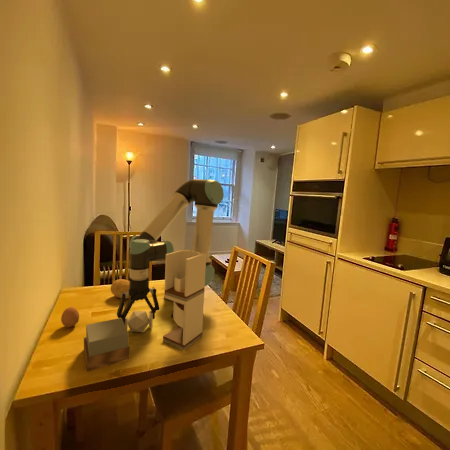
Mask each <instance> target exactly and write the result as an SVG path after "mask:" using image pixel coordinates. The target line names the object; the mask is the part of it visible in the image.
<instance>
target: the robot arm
mask: <svg viewBox="0 0 450 450" xmlns="http://www.w3.org/2000/svg"><path fill="white" fill-rule="evenodd" d="M223 200H224V189H223V186H222V184H221V183H220V182H219V181H218V180H216V179H215V180H213V179H200V178H199V179H196V178H195V179H194V178H193V179H189V180H188V181H186V182H184V183H183V184H181V186H179V187H178V188H177V189H176V191H174V193H172V198H171V199H170V200H169V201H168V203H166V205H164V207H163V208H162V209H161V210H160V211H159V213H158V214H157V215H156V216H155V217H154V218H153V220H151V221H150V222H149V223H148V225H147V226H146V227H145V229H144V230H142V232H141V233H140V234H139V235H134V236H132V237H131V238H130V239H129V241H128V248H129V281H130V282H129V291H128V292H121V298H120V300H119V305H118V308H117V311H116V316H117V319H118V318H122V320H123V322H124V324H125V327H126V329H127V330H128V327H129V326H128V319H129V318H128V314H129V313H130V310H131V308H132V306H133V304H134V303H135V302H136V301H137V302H139V301H143V300H144V301H145V302H146V304H147V305H148V307H149V309H150V310H149V311H148V318H149V320H150V322H149V324H148V326H149V328H150V329H152V328H153V323H154V321H153V320H155V319H156V315H155V314H156V313H157V311H159V310H160V304H159V301H158V297H157V289H156V287H154V286H153V287H151V288H150V286H149V285H150V278H149V277H150V262H154V261H155V262H156V261H159V260H166V254H169V253H173V252H175V251H174V249H175V247H174V245H173V243H172V242H171V241H168V240H162V241H159V240H158V239H159V238H160V237H161V236H162V234H163V233H164V232H165V231H166V230H167V228H168V227H169V226H170V225H171V223H172V222H173V221H174V220H175V219H176V218H177V216H178V215H179V214H180V213H181V212H182V211H183V210H184V208H185V207H188V206H189V205H190V204H191V203H194V206H195V208H196V214H195V215H196V216H195V224H194V233H193V234H194V235H193V243H192V250H191V251H196V252H200V253H205V254H206V270H205V287H208V285H210V284H211V282H212V281H213V279H214V277H215V273H216V272H215V267H214V266H213V265H212V259H211V258H210V257H209V255H210V248H211V239H212V231H213V230H212V229H213V223H214V213H215V211H216V210H217V209H218V205H219V204H221V203H222V202H223ZM149 294H151V297H152V300H153V304H154V306H153V304H152V302H151V301H150V299H149V298H148V295H149ZM128 295H130V296H131V297H130V298H128V302H127V304H126V305H125V303H126V300H127V299H126V298H127V296H128ZM166 300H167V301H170V302H173V303H174V301H172V300H169V299H166Z"/></svg>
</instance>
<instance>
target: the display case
mask: <svg viewBox="0 0 450 450" xmlns="http://www.w3.org/2000/svg"><path fill="white" fill-rule="evenodd" d="M164 265H165V267H164V270H165V272H164V296H163V297H164V299H165V300H167V299H169V300H172V301H171V302H173V301H174V302H173V308H172V312H173V318H174V319H173V318H172V319H173V320H174V322H175V323H176V325H178V326H177V327H174V328H173V329H172V330H170V331H168V332H167V333H165V334H164V335H163V336H162V341H163V342H164V343H168V344H169V345H171V346H174V347H176V348H177V349H180V350H182V351H186V350H187V349H188V348H189V347H191V346H192V345H193V344H195V343H196V342H197V341H198V340H200V339H201V338H202V337H203V324H204V323H203V321H204V305H205V304H204V303H205V287H206V286H205V270H206V254H205V253H200V252H196V251H192V250H191V249H186V248H184V249H181V250H177V251H174V252H173V253H169V254H166V259H165V263H164ZM169 300H168V301H169Z"/></svg>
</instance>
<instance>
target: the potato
mask: <svg viewBox="0 0 450 450" xmlns="http://www.w3.org/2000/svg"><path fill="white" fill-rule="evenodd" d="M129 282H130V280H129V279H128V280H127V279H123V278H119V279H116V280H114V281H113V282H112V284H111V286H110V292H111V294H112V295H113V296H114V297H116V298H119V299H121V292H128V291H129ZM130 297H131V296H130V295H128V296H127V298H126V300H127V299H128V300H129V299H130Z"/></svg>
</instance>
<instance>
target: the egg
mask: <svg viewBox="0 0 450 450" xmlns="http://www.w3.org/2000/svg"><path fill="white" fill-rule="evenodd" d="M79 319H80V313H79V311H78V310H77V308H75V307H74V306H68V307H67V308H65V310H63V312H62V314H61V317H60V321H61V324H62V325H63V326H64V327H67V328H73V327H74V326H75V325H76V324H77V323H78V322H79Z"/></svg>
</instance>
